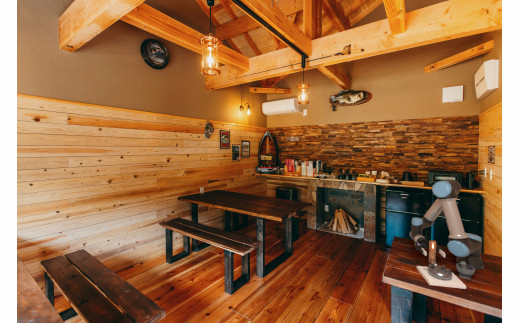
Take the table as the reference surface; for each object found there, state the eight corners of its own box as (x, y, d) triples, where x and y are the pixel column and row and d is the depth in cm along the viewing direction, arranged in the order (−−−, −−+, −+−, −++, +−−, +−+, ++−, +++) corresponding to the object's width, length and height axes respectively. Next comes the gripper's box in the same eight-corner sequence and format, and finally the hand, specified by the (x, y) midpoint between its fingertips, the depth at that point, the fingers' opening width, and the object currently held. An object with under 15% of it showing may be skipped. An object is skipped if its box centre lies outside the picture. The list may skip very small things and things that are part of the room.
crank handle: (456, 281, 149) (457, 253, 148) (433, 279, 152) (434, 251, 151) (440, 265, 168) (441, 240, 167) (420, 264, 171) (421, 239, 170)
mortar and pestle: (458, 270, 165) (459, 254, 164) (476, 277, 157) (477, 260, 156) (453, 276, 159) (453, 259, 158) (470, 283, 151) (471, 265, 150)
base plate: (448, 271, 165) (448, 268, 164) (465, 288, 145) (466, 285, 145) (416, 268, 169) (416, 265, 169) (429, 284, 150) (429, 281, 150)
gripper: (438, 247, 182) (454, 261, 160) (405, 244, 187) (416, 258, 166) (438, 238, 181) (454, 251, 160) (405, 235, 187) (416, 248, 166)
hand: (435, 254), depth 163 cm, fingers open, 11 cm apart
